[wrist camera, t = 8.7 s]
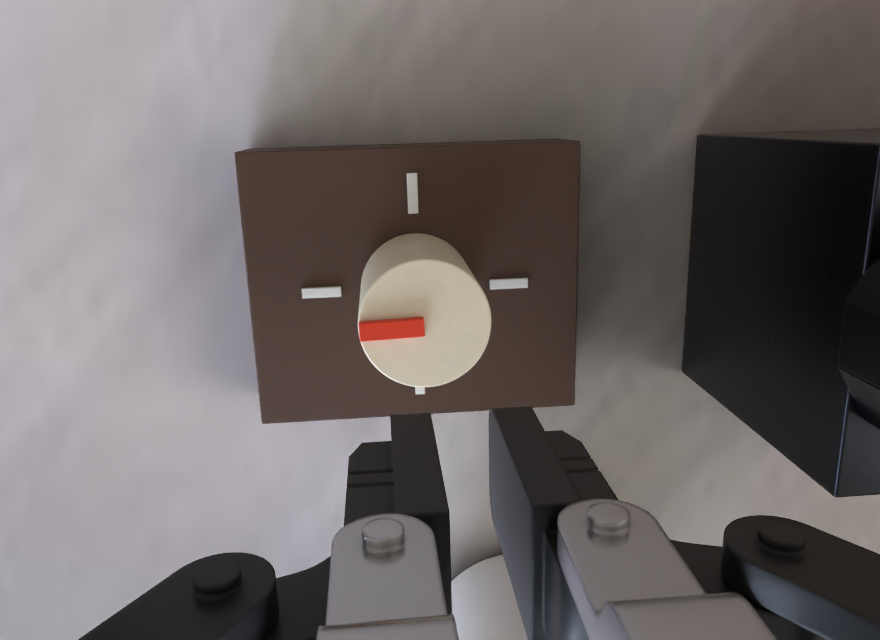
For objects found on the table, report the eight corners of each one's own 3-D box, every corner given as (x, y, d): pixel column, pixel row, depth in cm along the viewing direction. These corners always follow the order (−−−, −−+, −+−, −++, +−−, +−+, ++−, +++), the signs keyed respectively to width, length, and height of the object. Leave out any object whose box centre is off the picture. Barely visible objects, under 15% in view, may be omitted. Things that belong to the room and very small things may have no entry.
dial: (468, 229, 26) (490, 255, 21) (473, 336, 27) (495, 386, 22) (356, 236, 26) (351, 266, 21) (365, 344, 27) (363, 397, 22)
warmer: (556, 379, 31) (576, 407, 28) (272, 395, 30) (260, 426, 27) (560, 138, 29) (582, 141, 26) (248, 148, 28) (233, 152, 25)
